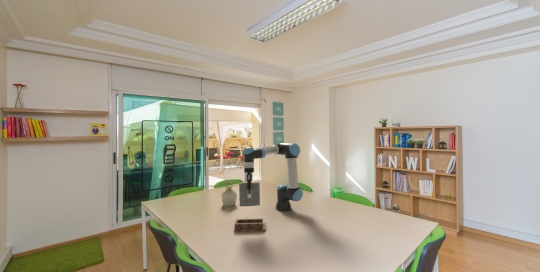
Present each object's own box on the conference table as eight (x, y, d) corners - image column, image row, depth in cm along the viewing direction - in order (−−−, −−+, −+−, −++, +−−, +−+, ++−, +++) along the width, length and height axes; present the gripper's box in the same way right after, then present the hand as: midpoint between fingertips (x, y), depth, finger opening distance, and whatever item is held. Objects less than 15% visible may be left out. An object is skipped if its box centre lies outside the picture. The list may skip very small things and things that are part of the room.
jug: (233, 207, 233) (233, 182, 232) (219, 207, 236) (218, 182, 235) (238, 203, 248) (238, 179, 247) (225, 202, 251) (224, 179, 250)
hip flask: (259, 204, 185) (259, 179, 185) (260, 205, 181) (259, 180, 181) (239, 205, 183) (239, 179, 183) (239, 206, 179) (239, 180, 179)
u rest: (265, 224, 189) (265, 218, 189) (265, 231, 177) (265, 223, 177) (235, 225, 188) (235, 218, 188) (233, 231, 176) (233, 224, 176)
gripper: (245, 165, 190) (245, 194, 190) (243, 169, 173) (244, 200, 173) (254, 165, 190) (254, 193, 191) (253, 168, 173) (254, 200, 173)
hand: (249, 196), depth 182 cm, fingers closed on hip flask, 4 cm apart
